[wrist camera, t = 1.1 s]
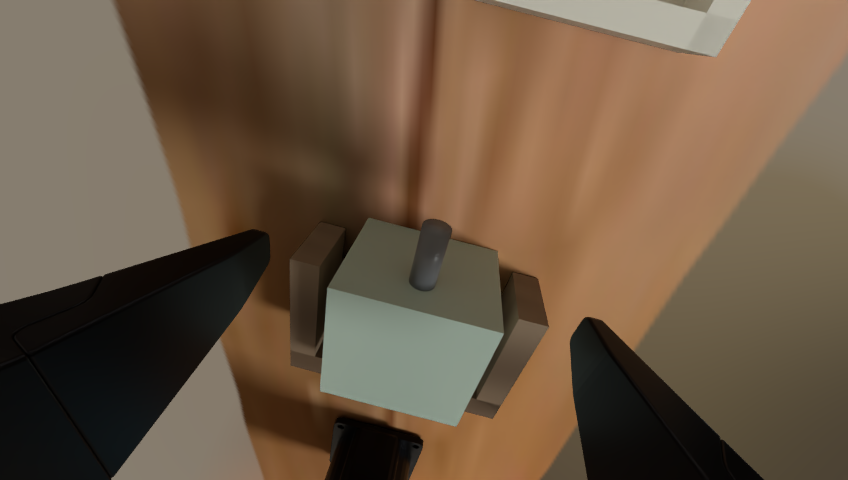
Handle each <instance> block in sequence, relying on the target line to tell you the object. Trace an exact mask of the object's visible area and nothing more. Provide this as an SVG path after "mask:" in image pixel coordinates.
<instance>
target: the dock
mask: <svg viewBox="0 0 848 480" xmlns="http://www.w3.org/2000/svg"><path fill="white" fill-rule="evenodd" d="M344 238H345V228H342V227H338V226H335V225H331V224H327V223H323V222H320V223H319V224H318V225H317V227H316V228H315V229H314V230H313V231H312V233H311V234H310V235H309V236H308V237H307V239H306V240H305V241H304V242H303V243H302V245H301V246H300V247H299V248H298V249H297V251H296V252H295V253H294V254H293V255H292V257H291V258H290V344H291V366H295V367H298V368H302V369H306V370H310V371H314V372H317V373H321V369H322V355H323V341H324V328H325V314H326V300H327V287H328V286H329V284H330V282H331V281H332V279H333V277H334V275H335V274H336V272H337V270H338V269H339V267H340V265H341V264H342V259H343V248H344ZM501 301H502V314H503V327H504V335H503V337H502V339H501V341H500V342H499V344H498V346H497V348H496V350H495V352H494V354H493V356H492V358H491V360H490V362H489V364H488V366H487V368H486V370H485V372H484V374H483V376H482V378H481V380H480V381H479V383H478V385H477V387H476V389H475V391H474V393H473V395H472V397H471V399H470V401H469V403H468V405H467V407H466V409H465V412H469V413H473V414H476V415H480V416H484V417H488V418H492V419H493V417H494V416H495V414H496V413H497V411H498V409H499V408H500V406H501V404H502V403H503V401H504V399H505V398H506V396H507V395H508V393H509V391H510V390H511V388H512V386H513V385H514V383H515V381H516V380H517V378H518V377H519V375H520V373H521V372H522V370H523V368H524V367H525V365H526V364H527V362H528V360H529V359H530V357H531V355H532V354H533V352H534V350H535V349H536V347H537V346H538V344H539V342H540V341H541V339H542V337H543V336H544V334H545V332H546V331H547V329H548V328H549V325H548V321H547V316H546V312H545V308H544V303H543V299H542V294H541V290H540V286H539V281H538V279H537V278H533V277H529V276H526V275H522V274H518V273H514V272H513V273H512V275H511V277H510V279H509V281H508V284H507V286H506V288H505V290H504V292H503V294H502V296H501Z"/></svg>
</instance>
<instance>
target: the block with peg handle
mask: <svg viewBox="0 0 848 480" xmlns="http://www.w3.org/2000/svg"><path fill="white" fill-rule="evenodd" d="M451 233H452V228H451V227H450V225H448V224H447V223H445V222H443V221H441V220H437V219H428V220H425V221H424V222H423V224H422V228H421V231H418V230H414V229H411V228H407V227H403V226H399V225H395V224H391V223H388V222H384V221H380V220H376V219H372V218H368V219H367V221H366V223H365V225H364V226H363V228H362V230H361V231H360V233H359V235H358V236H357V238H356V240H355V242H354V243H353V245H352V247H351V248H350V250H349V252H348V253H347V255H346V257H345V259H344V260H343V262H342V264H341V265H340V267H339V269H338V270H337V272H336V274H335V275H334V277H333V279H332V281H331V282H330V284H329V286H328V287H327V300H326V314H325V328H324V341H323V355H322V369H321V383H320V391H322V392H326V393H329V394H333V395H337V396H341V397H345V398H349V399H352V400H356V401H360V402H364V403H368V404H371V405H375V406H379V407H383V408H387V409H391V410H394V411H398V412H402V413H406V414H410V415H413V416H417V417H421V418H425V419H429V420H433V421H436V422H440V423H444V424H448V425H452V426H455V427H456V426H457V424H458V422H459V420H460V418H461V417H462V415H463V413H464V411H465V409H466V407H467V405H468V403H469V401H470V399H471V397H472V395H473V393H474V391H475V389H476V387H477V385H478V383H479V381H480V380H481V378H482V376H483V374H484V372H485V370H486V368H487V366H488V364H489V362H490V360H491V358H492V356H493V354H494V352H495V350H496V348H497V346H498V344H499V342H500V341H501V339H502V337H503V335H504V327H503V314H502V301H501V288H500V275H499V262H498V251H495V250H491V249H487V248H483V247H479V246H476V245H472V244H468V243H464V242H460V241H457V240H453V239H450V236H451Z"/></svg>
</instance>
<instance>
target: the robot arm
mask: <svg viewBox="0 0 848 480" xmlns="http://www.w3.org/2000/svg"><path fill="white" fill-rule="evenodd" d="M269 261H270V241H269V235H268V233H266V232H263V231H259V230H255V229H251V230H248V231H245V232H241V233H238V234H235V235H232V236H228V237H225V238H222V239H219V240H216V241H212V242H209V243H206V244H203V245H199V246H196V247H193V248H190V249H186V250H183V251H180V252H177V253H174V254H170V255H167V256H164V257H161V258H157V259H154V260H151V261H147V262H144V263H141V264H138V265H134V266H131V267H128V268H125V269H122V270H118V271H115V272H112V273H109V274H105V275H104V276H103V277H102V276H99V277H95V278H92V279H89V280H86V281H82V282H79V283H76V284H72V285H69V286H66V287H62V288H59V289H55V290H52V291H48V292H45V293H41V294H37V295H33V296H30V297H26V298H22V299H19V300H15V301H11V302H7V303H3V304H0V480H111V478H112V477H114V475H115V474H116V473H117V471H118V470H119V469H120V468H121V466H122V465H123V464H124V462H125V461H126V460H127V458H128V457H129V456H130V454H131V453H132V452H133V451H134V449H135V448H136V446H137V445H138V444H139V443H140V441H141V440H142V438H143V437H144V436H145V435H146V433H147V432H148V431H149V429H150V428H151V427H152V426H153V424H154V423H155V422H156V420H157V419H158V418H159V416H160V415H161V414H162V413H163V411H164V410H165V409H166V407H167V406H168V405H169V403H170V402H171V401H172V399H173V398H174V397H175V395H176V394H177V393H178V392H179V390H180V389H181V388H182V386H183V385H184V384H185V382H186V381H187V380H188V378H189V377H190V376H191V374H192V373H193V372H194V371H195V369H196V368H197V366H198V365H199V364H200V363H201V361H202V360H203V359H204V357H205V356H206V355H207V353H208V352H209V351H210V350H211V348H212V347H213V346H214V344H215V343H216V342H217V340H218V339H219V338H220V336H221V335H222V334H223V332H224V331H225V330H226V329H227V327H228V326H229V325H230V323H231V322H232V321H233V319H234V318H235V317H236V315H237V314H238V313H239V311H240V310H241V309H242V307H243V305H244V304H245V302H246V301H247V299H248V297H249V296H250V294H251V292H252V291H253V289H254V287H255V286H256V284H257V282H258V281H259V279H260V277H261V275H262V274H263V272H264V270H265V269H266V267H267V265H268V263H269ZM570 353H571V369H572V386H573V397H574V403H575V409H576V415H577V421H578V427H579V432H580V438H581V444H582V450H583V455H584V461H585V467H586V473H587V478H588V480H764V479H763V478H762V477H761V476H760V475H759V474H757V472H756V471H755V470H753V469H752V468H751V467H750V466H749V465H748V464H747V463H746V462H745V461H744V460H743V459H742V458H741V457H740V456H739V455H738V454H737V453H736V452H735V451H734V450H733V449H732V448H731V447H730V446H729V445H728V444H727V443H726V442H725V441H724V440H720V436H719V435H718V434H717V433H716V432H715V431H714V430H713V429H712V428H711V427H710V426H708V425H707V424H706V423H705V421H704V420H702V419H701V418H700V417H699V416H698V415H697V414H696V413H695V412H694V411H693V410H692V409H691V408H690V407H689V406H688V405H687V404H686V403H685V402H684V401H683V400H682V399H681V398H680V397H679V396H678V395H677V394H676V393H675V392H674V391H673V390H672V389H671V388H670V387H669V386H668V385H667V384H666V383H665V382H664V381H663V380H662V379H661V378H660V377H659V376H658V375H657V374H656V373H655V372H654V371H653V370H652V369H651V368H650V367H649V366H648V365H647V364H645V362H644V361H643V360H642V359H641V358H640V357H639V356H637V354H636V353H635V352H634V351H633V350H631V349H630V348H629V347H628V346H627V345H626V344H625V343H624V342H623V341H622V340H621V339H620V338H619V337H618V336H617V335H616V334H615V333H614V332H613V331H612V330H611V329H610V328H609V327H608V326H607V325H606V324H605V323H604V322H603V321H602V320H599V319H595V318H592V317H585V318H584V319H583V320H582V321H581V323H580V324H579V326H578V327H577V329H576V330H575V332H574V333H573V335H572V337H571V340H570ZM422 448H423V440H422V439H420V438H418V437H414V436H410V435H406V434H403V433H399V432H395V431H391V430H388V429H384V428H380V427H376V426H372V425H369V424H365V423H361V422H357V421H353V420H350V419H346V418H341V417H340V418H337V419H336V421H335V424H334V429H333V437H332V445H331V453H330V462H331V463H330V466H329V469H328V472H327V475H326V478H325V480H409V478H410V476H411V474H412V471H413V469H414V467H415V465H416V462H417V460H418V458H419V455H420V453H421V451H422Z"/></svg>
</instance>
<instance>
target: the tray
mask: <svg viewBox="0 0 848 480" xmlns="http://www.w3.org/2000/svg"><path fill="white" fill-rule="evenodd" d="M476 1H479V2H483V3H487V4H491V5H495V6H499V7H503V8H507V9H510V10H514V11H518V12H522V13H526V14H530V15H534V16H538V17H542V18H545V19H549V20H553V21H557V22H561V23H565V24H569V25H573V26H577V27H580V28H584V29H588V30H592V31H596V32H600V33H604V34H608V35H612V36H615V37H619V38H623V39H627V40H631V41H635V42H639V43H643V44H647V45H650V46H654V47H658V48H662V49H666V50H670V51H674V52H678V53H685V54H694V55H702V56H710V57H717V55H718V53H719V52H720V50H721V48H722V47H723V45H724V44H725V42H726V40H727V39H728V37H729V35H730V34H731V32H732V31H733V29H734V27H735V26H736V24H737V22H738V21H739V19H740V18H741V16H742V14H743V13H744V11H745V9H746V8H747V6H748V5H749V3H750V1H751V0H476Z"/></svg>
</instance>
